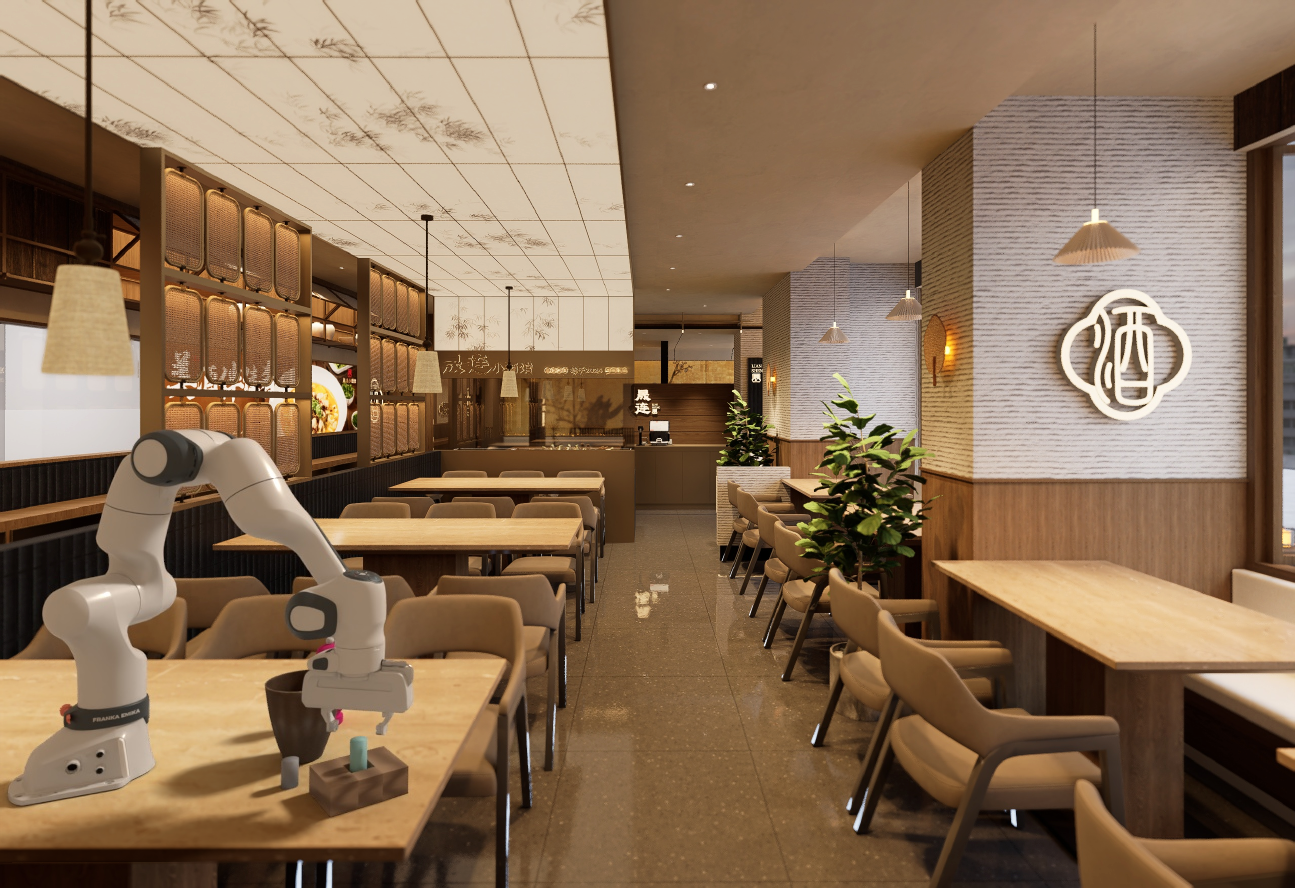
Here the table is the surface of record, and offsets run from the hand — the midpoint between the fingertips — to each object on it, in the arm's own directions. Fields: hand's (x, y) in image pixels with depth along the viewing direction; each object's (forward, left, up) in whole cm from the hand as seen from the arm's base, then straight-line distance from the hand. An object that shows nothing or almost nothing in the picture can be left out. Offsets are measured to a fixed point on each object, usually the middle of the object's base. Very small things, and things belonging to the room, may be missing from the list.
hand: (356, 732), depth 137 cm
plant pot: (-3, +23, -11) cm, 25 cm away
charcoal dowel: (-9, +11, -11) cm, 18 cm away
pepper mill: (+7, +39, -11) cm, 41 cm away
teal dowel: (0, 0, -11) cm, 11 cm away
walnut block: (0, 0, -11) cm, 11 cm away
